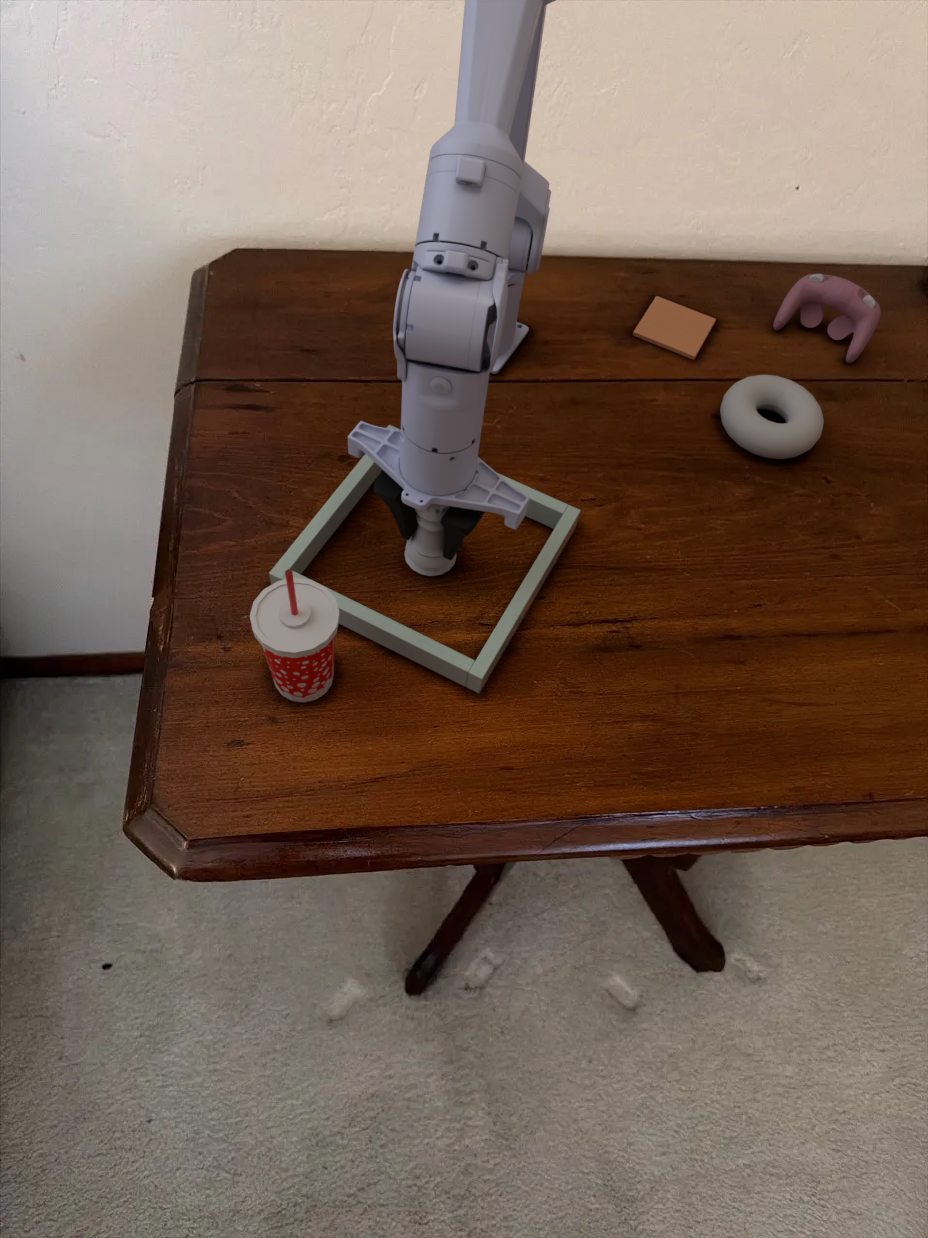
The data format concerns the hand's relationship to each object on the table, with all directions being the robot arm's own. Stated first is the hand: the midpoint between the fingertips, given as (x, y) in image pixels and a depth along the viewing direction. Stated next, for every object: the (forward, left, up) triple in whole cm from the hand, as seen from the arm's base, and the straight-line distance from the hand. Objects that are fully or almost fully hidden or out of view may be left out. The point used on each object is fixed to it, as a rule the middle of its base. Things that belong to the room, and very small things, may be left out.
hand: (431, 540), depth 73 cm
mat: (+8, +40, -2) cm, 41 cm away
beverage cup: (-3, -15, -3) cm, 16 cm away
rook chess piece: (0, 0, -3) cm, 3 cm away
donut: (+21, +31, -3) cm, 38 cm away
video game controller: (+22, +48, -3) cm, 53 cm away
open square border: (0, 0, -2) cm, 2 cm away
